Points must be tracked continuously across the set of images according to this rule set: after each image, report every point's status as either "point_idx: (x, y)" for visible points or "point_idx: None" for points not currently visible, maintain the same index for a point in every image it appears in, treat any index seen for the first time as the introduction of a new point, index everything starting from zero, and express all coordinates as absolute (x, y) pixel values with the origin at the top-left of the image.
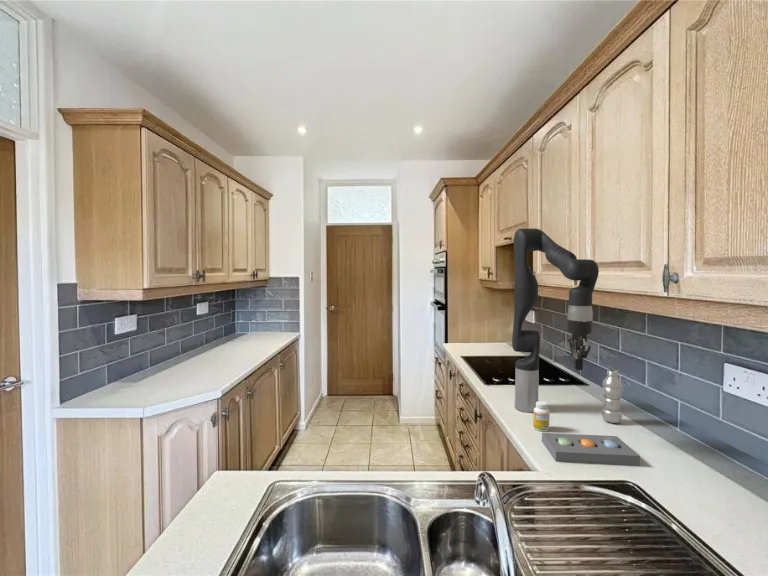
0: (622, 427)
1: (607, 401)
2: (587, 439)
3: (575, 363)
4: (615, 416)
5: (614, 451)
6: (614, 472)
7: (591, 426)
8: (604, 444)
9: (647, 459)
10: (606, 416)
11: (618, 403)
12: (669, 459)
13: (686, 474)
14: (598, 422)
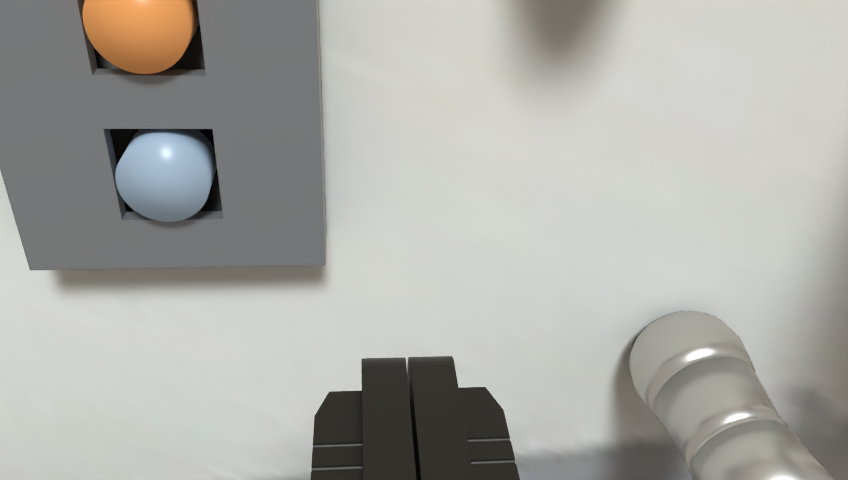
0: (587, 359)
1: (720, 410)
2: (180, 38)
3: (396, 446)
4: (640, 375)
5: (47, 152)
6: None
7: (614, 204)
8: (157, 135)
9: (156, 306)
10: (670, 332)
11: (682, 454)
12: (186, 395)
13: (27, 391)
14: (673, 268)
